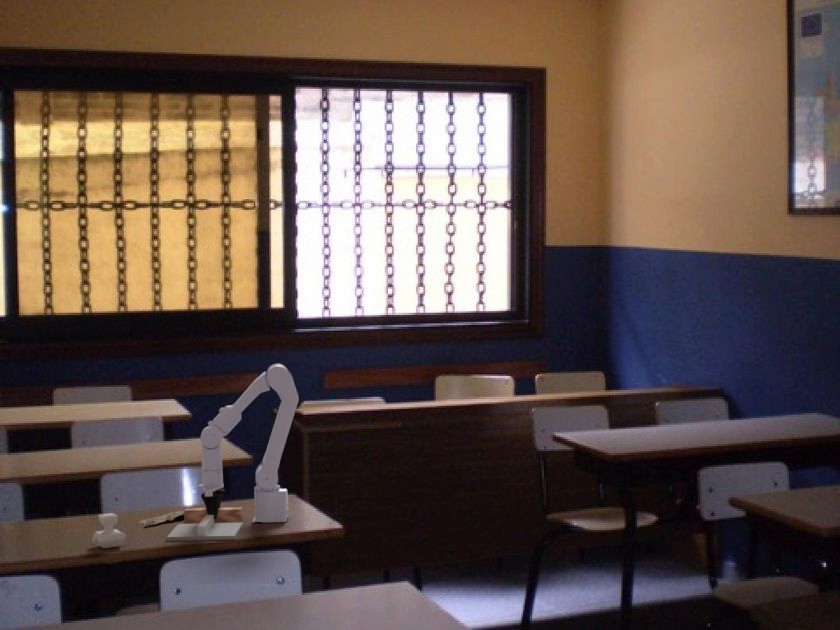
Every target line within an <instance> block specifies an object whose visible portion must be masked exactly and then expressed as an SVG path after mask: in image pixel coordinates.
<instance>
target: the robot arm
mask: <svg viewBox="0 0 840 630" xmlns="http://www.w3.org/2000/svg"><path fill="white" fill-rule="evenodd" d="M271 388H272V389H273V390H274V391H275V392H276V393H277V395H278V396H279V398H280V401H281V402H280V404H279V408H278V411H277V414H276V418H275V420H274V421H275V422H274V424H273V426H272V431H271V433H270V436H269V441H268V444H267V447H266V451H265V452H264V455H263V458H262V461H261V462H260V464H259V465H258V466H257V468H256V469H255V484H256V485H255V486H254V488H253V490H254V491H253V494H254V517H253V519H252V520H251V521H252V522H251V523H252V524H253V523H254V524H255V522H262V523H285V522H287V521H288V519H289V517H288V516H290V515H289V514H290V510H289V492H288V489H287V488H282V487H281V485H279V484H278V482H279V474H278V471H279V467H280V462H281V459H282V455H283V452H284V449H285V447H286V446H285V445H286V443H287V440H288V439H287V438H288V435H289V433H290V430H291V426H292V422H293V419H294V416H295V413H296V410H297V407H298V403H299V399H300V398H299V393H298V391H297V388H296V385H295V382H294V378H293V375H292V373H291V372H290V371H289V370H288V368H287V366H285V365H283V364H282V363H274V364H272V365H270V366H269V367H268V368H267V371H263V372H262V373H261V374H260V375H259V376H258V377H256V378H255V380H253V381H252V383H251V384H250V385H249V386H248V387H247V389H245V391H244V392H243V393H242V395H241V396H239V398H238V399H237V400H236V401H235V402H234V403H233V404H231V405H225V406H224V407H223V406H222V407H221V408H219V409H218V411H219V413H218V414H217V415H216V416H215V417H214V418H213V420H209V422H207V425H208V426H206V427H204V428H203V429H202V431H201V434H200V443H201V444H202V445H201V456H200V457H201V478H202V479H201V480H202V481H201V482H202V483H200V484H198V485H197V487H198V489H202V490H203V491H204V492H203V493H202V492H201V494H200V497H201V500H202V502H203V503H204V505H205V508H206V510H207V514H208V515H214V519H216V518H217V513H218V508H221V504H222V499H223V496H224V493H225V491H226V490H225V489H224V487H225V486H224V473H223V452H222V449H221V448H222V447H221V445H222V441H223V437H225V436H228V435H229V433H230V432H231V431H232V430H233V429H234V428H235V426H237V425H238V424H239V422H240V421H242V412H244V410H245V409H246V408H247V407H248V406H249V405H250V404H251V403H252V402H253V401H254V400H255V399H256V398H257V397H258V396H259V395H260V394H262V393H265V392H269V391H270V390H271ZM287 518H288V519H287Z"/></svg>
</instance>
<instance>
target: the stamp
mask: <svg viewBox="0 0 840 630" xmlns="http://www.w3.org/2000/svg"><path fill="white" fill-rule="evenodd" d="M97 517H98V521H99V523H100V524H101V525H102V526H104V528H103V530H96V531H94V533H93V537H92V539H91V542H92V544H98V545H99V547H101V548H102V549H105V548H106V549H112V548H111V547H113V548H118V547H120V546H121V544H122V543H123V542H124V540H125V539H126V538H127V535H126V533H124V532H122V531H120V530H119V529H117V528H114V525H116V524H117V523H118V520H119V519H118V518H119V517H118V515H117V514H116V513H113V512H110V513H103V514H98V515H97Z"/></svg>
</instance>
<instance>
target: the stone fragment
mask: <svg viewBox="0 0 840 630" xmlns="http://www.w3.org/2000/svg"><path fill="white" fill-rule="evenodd" d="M184 510H185V509H184ZM184 510H183V509H182V510H176V511H168V513H166V514H163V515H161V516H155V517H152V518H151V517H149V518H147V519H142V520H140V521H138V522H139V523H141V524H142V523H144V525H146V526H147V527H146V528H148V527H150V526H153V525H157V524H160V523H164V522H167V521H169V522H170V521H171V522H172V521H173V520H174V519H175V518H177V517H179V516H184Z"/></svg>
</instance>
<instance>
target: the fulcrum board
mask: <svg viewBox="0 0 840 630" xmlns="http://www.w3.org/2000/svg"><path fill="white" fill-rule="evenodd" d="M243 527H244V521H243V522H240V523H214V515H206V516H205V517H204V519H203V520H202V521H201V522H200V523H193V524H184V523H177V525H176V526H175V527H174V528H173V529H172V530H171V532H170V533H169V534H168V535H167V536H166V542H175V541H176V542H179V541H184V542H185V541H219V540H220V541H223V540H226V541H228V540H230V541H231V540H235V539H236V538H237V537H238V535H239V534H240V532H241V530H242V529H243ZM241 528H242V529H241Z"/></svg>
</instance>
